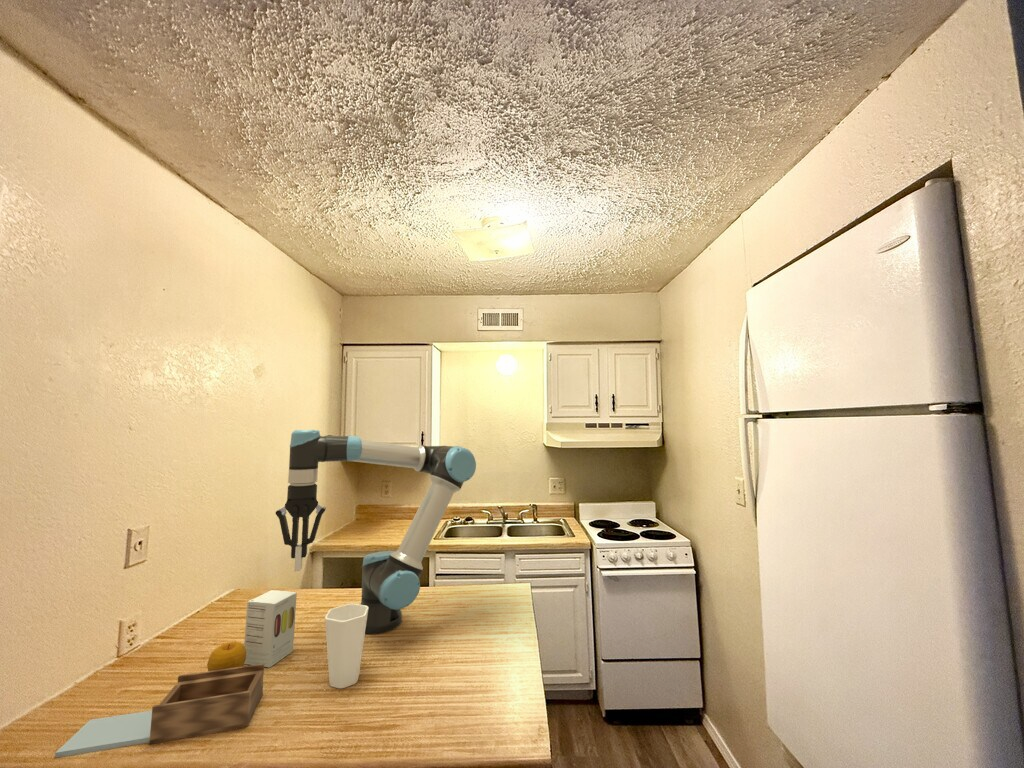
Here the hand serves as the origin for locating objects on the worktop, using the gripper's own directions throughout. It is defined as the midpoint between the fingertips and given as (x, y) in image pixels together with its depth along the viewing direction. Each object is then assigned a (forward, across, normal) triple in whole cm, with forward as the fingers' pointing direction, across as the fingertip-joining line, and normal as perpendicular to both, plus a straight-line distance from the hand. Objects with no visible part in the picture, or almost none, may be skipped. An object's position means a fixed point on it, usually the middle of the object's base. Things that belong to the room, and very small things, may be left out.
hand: (298, 569), depth 117 cm
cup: (+27, -14, +9) cm, 31 cm away
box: (+26, +14, +16) cm, 34 cm away
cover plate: (+27, +31, +16) cm, 44 cm away
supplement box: (+27, +8, -9) cm, 29 cm away
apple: (+27, +16, 0) cm, 31 cm away
